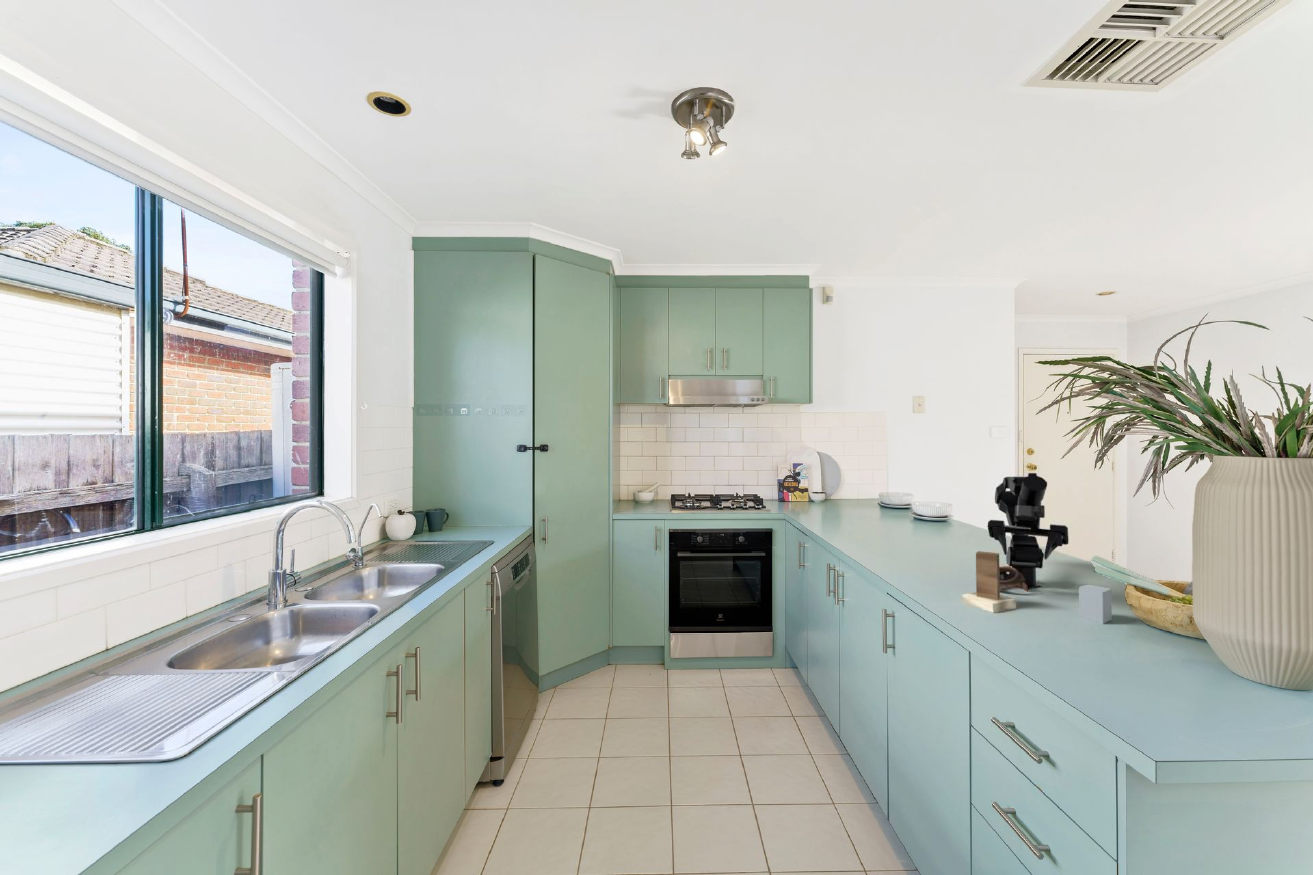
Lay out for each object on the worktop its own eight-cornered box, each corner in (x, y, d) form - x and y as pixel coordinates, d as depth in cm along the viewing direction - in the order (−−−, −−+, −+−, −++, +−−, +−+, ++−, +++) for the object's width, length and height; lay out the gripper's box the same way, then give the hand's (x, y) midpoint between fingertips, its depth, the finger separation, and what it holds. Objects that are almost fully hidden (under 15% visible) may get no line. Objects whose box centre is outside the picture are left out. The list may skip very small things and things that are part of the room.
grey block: (1088, 614, 139) (1087, 584, 139) (1111, 620, 135) (1111, 588, 135) (1079, 618, 137) (1078, 587, 137) (1102, 624, 133) (1102, 592, 133)
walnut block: (979, 592, 151) (978, 550, 152) (999, 596, 148) (999, 553, 148) (976, 596, 148) (975, 553, 149) (997, 599, 145) (996, 555, 145)
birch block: (985, 600, 154) (985, 590, 154) (1016, 609, 145) (1015, 599, 145) (962, 604, 151) (962, 594, 151) (992, 614, 142) (992, 603, 142)
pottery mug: (1038, 596, 157) (1029, 574, 155) (1007, 609, 158) (998, 588, 156) (1011, 575, 168) (1003, 554, 167) (983, 587, 170) (974, 567, 168)
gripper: (988, 492, 158) (982, 535, 149) (1067, 496, 146) (1065, 543, 137) (992, 515, 164) (987, 558, 155) (1069, 521, 152) (1067, 567, 143)
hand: (1024, 556), depth 148 cm, fingers open, 9 cm apart
